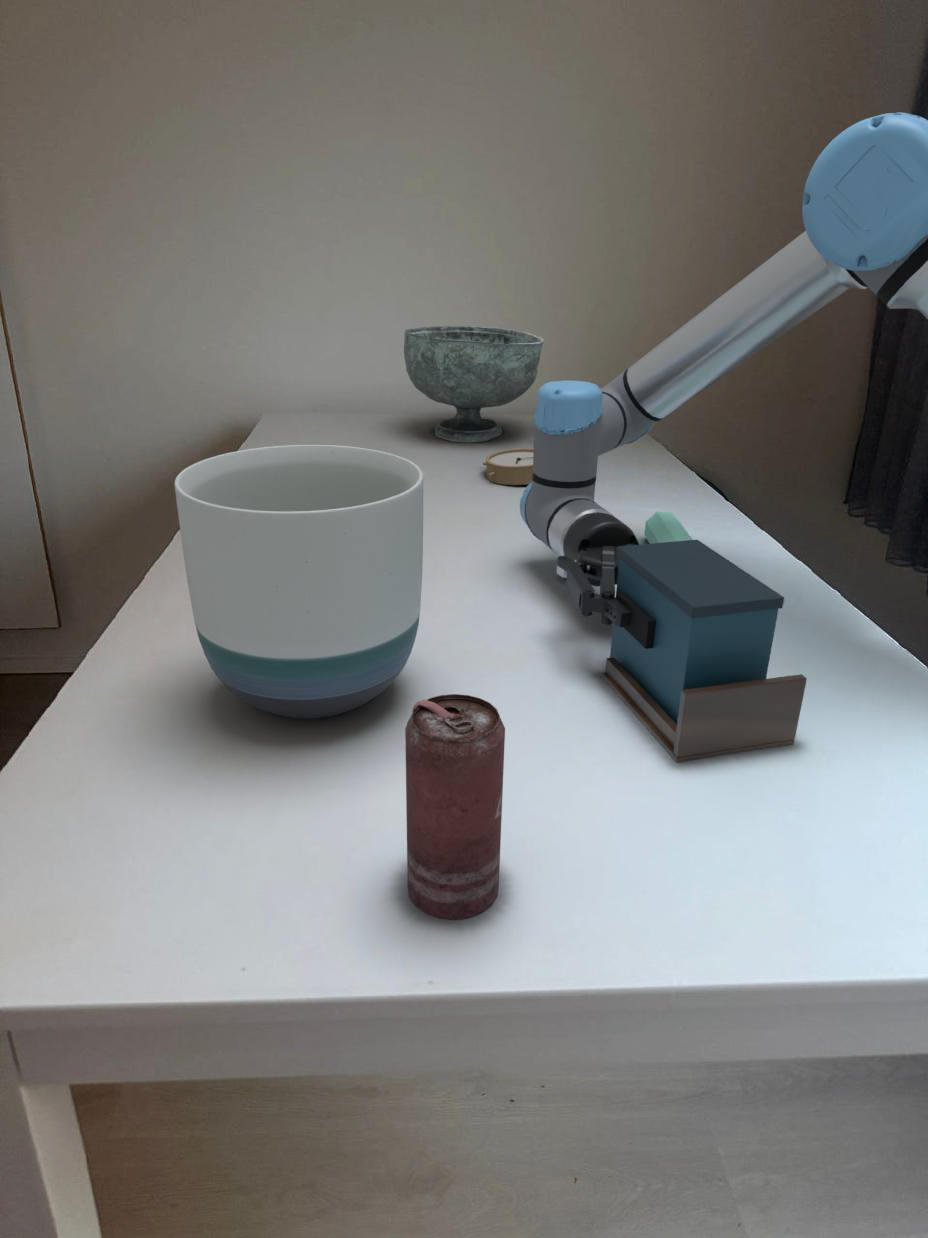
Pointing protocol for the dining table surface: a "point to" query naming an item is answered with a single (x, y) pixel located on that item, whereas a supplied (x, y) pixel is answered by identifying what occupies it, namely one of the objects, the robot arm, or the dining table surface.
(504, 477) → the alarm clock
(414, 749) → the can
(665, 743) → the wooden drawer
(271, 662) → the planter
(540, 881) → the dining table surface
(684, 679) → the storage container
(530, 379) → the decorative bowl
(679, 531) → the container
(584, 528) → the robot arm
